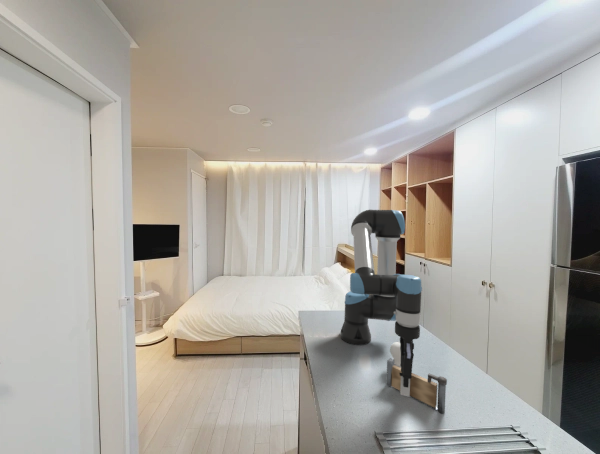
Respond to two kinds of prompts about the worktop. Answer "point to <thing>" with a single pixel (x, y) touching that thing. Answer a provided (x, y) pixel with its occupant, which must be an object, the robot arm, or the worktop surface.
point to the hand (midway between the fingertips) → (404, 394)
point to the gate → (420, 386)
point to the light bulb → (396, 353)
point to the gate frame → (441, 398)
